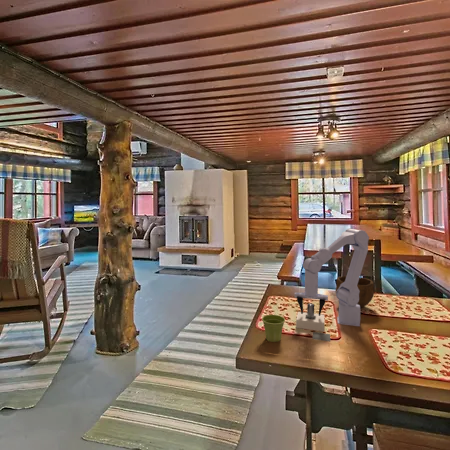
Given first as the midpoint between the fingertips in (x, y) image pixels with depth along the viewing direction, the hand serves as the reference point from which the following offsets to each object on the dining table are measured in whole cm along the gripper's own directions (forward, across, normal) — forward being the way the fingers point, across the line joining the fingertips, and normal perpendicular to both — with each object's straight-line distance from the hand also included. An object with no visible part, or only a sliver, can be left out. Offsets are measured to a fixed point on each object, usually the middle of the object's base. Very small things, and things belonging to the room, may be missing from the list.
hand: (310, 314), depth 139 cm
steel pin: (+6, 0, 0) cm, 6 cm away
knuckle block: (+6, 0, 0) cm, 6 cm away
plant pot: (+6, -14, -18) cm, 24 cm away
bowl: (+6, +21, +32) cm, 39 cm away
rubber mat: (+6, +5, -10) cm, 13 cm away
